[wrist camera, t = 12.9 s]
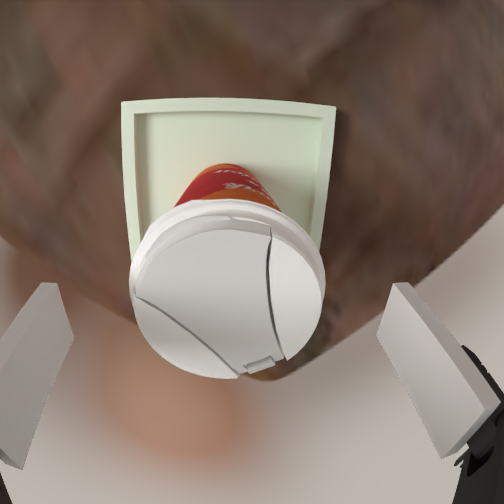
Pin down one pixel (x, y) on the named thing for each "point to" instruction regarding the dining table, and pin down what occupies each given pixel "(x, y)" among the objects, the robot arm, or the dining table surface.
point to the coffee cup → (226, 278)
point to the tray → (225, 154)
